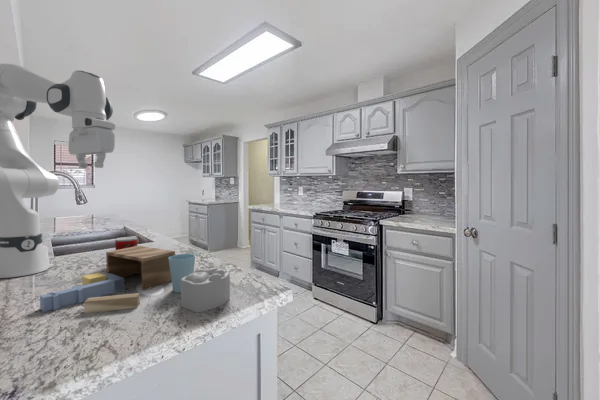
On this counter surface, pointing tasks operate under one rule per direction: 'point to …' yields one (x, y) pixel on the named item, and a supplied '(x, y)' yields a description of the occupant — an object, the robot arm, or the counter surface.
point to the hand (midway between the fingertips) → (90, 168)
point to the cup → (180, 269)
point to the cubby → (141, 264)
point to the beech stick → (112, 302)
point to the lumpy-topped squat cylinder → (205, 289)
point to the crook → (81, 293)
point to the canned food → (125, 242)
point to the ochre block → (93, 278)
